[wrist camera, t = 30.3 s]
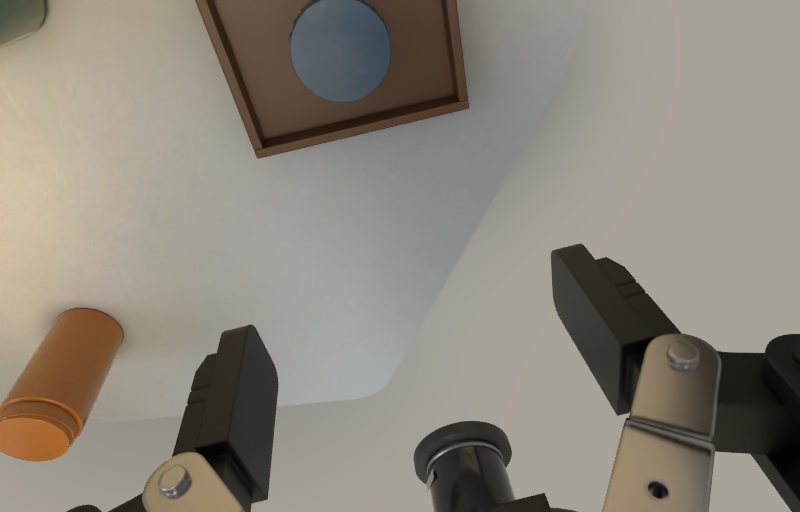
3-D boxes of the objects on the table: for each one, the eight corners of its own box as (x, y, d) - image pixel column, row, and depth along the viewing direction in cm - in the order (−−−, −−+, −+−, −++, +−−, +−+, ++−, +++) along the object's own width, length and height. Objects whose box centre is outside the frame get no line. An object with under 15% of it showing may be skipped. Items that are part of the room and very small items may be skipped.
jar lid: (278, -1, 30) (276, 4, 28) (381, -17, 30) (384, -13, 28) (303, 102, 33) (302, 111, 32) (395, 87, 33) (398, 95, 32)
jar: (137, 333, 43) (91, 440, 34) (96, 363, 44) (42, 473, 36) (81, 297, 40) (16, 403, 32) (39, 330, 41) (-34, 440, 33)
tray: (462, 99, 35) (469, 108, 33) (260, 147, 35) (257, 159, 33) (429, -166, 27) (435, -170, 25) (165, -101, 27) (155, -102, 25)
